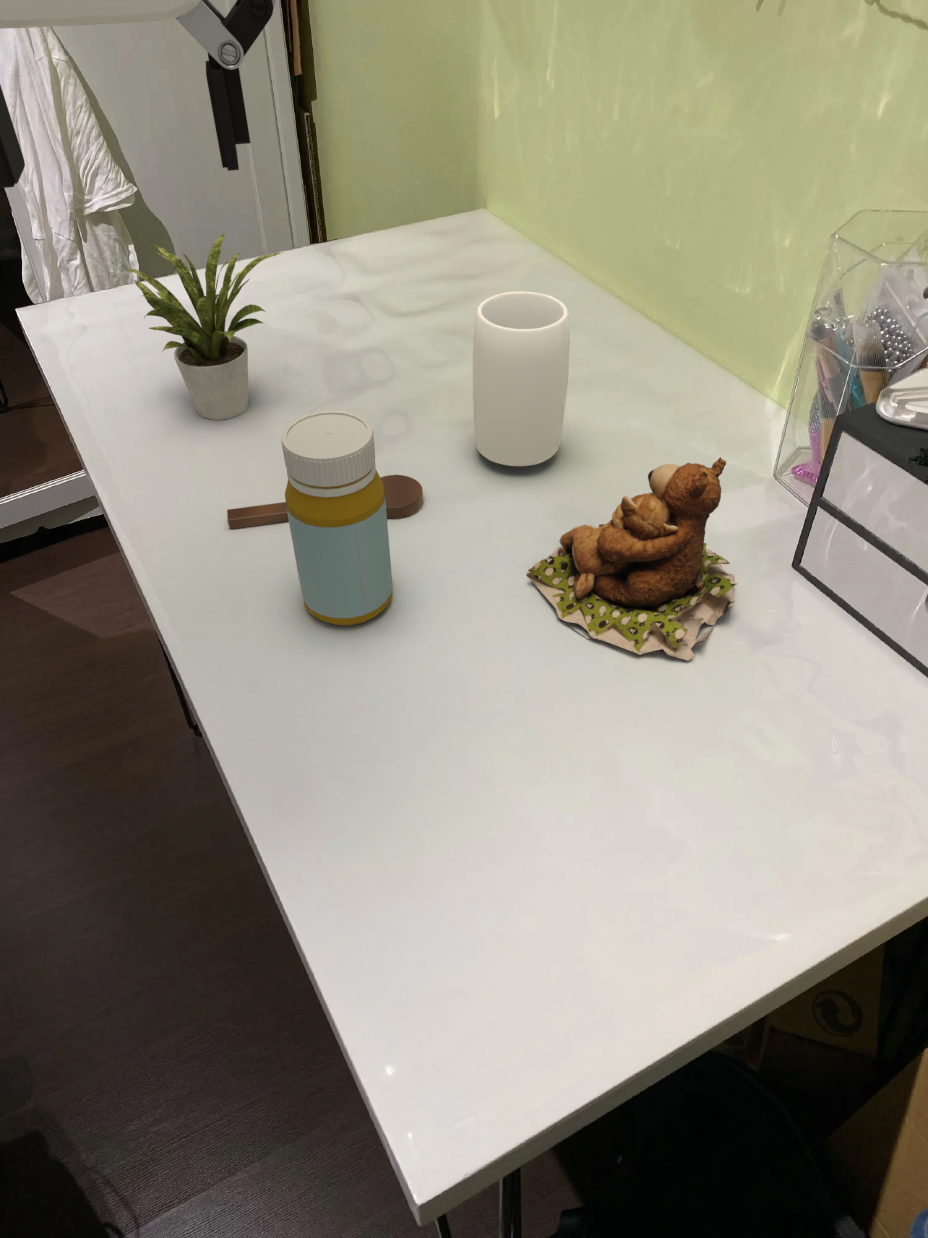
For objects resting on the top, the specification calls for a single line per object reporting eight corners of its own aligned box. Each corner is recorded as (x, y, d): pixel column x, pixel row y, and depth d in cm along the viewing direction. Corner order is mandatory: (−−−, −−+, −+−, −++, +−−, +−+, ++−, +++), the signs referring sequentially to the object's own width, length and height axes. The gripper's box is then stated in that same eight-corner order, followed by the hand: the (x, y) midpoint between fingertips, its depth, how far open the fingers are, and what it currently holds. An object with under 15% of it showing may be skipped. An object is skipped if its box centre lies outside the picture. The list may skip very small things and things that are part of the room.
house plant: (283, 358, 100) (259, 204, 89) (319, 418, 91) (297, 255, 80) (152, 385, 96) (109, 227, 85) (176, 450, 87) (131, 283, 76)
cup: (509, 420, 90) (513, 280, 81) (579, 450, 86) (592, 306, 77) (454, 457, 86) (451, 313, 76) (525, 490, 82) (532, 343, 72)
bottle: (410, 606, 71) (398, 440, 60) (330, 643, 68) (304, 475, 57) (365, 559, 75) (347, 396, 64) (288, 592, 72) (257, 427, 62)
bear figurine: (597, 515, 79) (611, 388, 71) (758, 583, 72) (796, 452, 64) (505, 598, 71) (510, 467, 63) (677, 684, 64) (707, 550, 56)
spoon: (230, 541, 77) (227, 530, 76) (228, 507, 80) (226, 496, 79) (427, 514, 79) (427, 503, 78) (417, 482, 83) (417, 471, 82)
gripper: (247, -372, 34) (306, 132, 45) (-262, -378, 31) (-61, 158, 43) (257, -398, 28) (321, 181, 40) (-357, -407, 26) (-97, 214, 38)
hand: (124, 169), depth 42 cm, fingers open, 9 cm apart
